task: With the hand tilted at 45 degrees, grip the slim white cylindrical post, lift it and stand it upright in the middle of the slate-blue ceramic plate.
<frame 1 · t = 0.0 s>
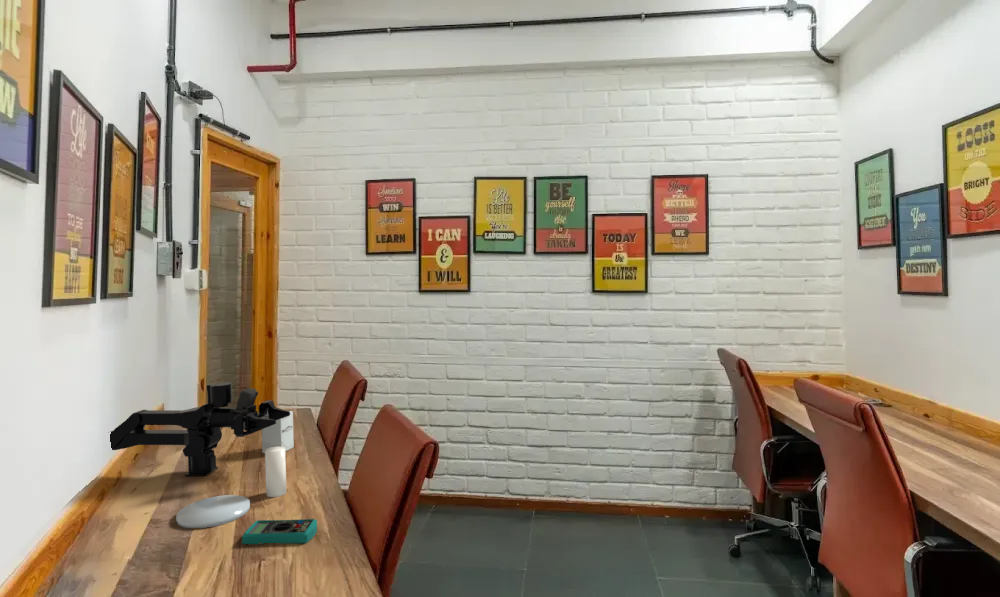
hand: (283, 417, 157), 17 cm above the table, tool horizontal, fingers open, 9 cm apart
digital multimeter: (281, 538, 119), on the table
plate: (214, 513, 131), on the table
supplement box: (278, 451, 178), on the table
white cylindrical post: (276, 493, 142), on the table
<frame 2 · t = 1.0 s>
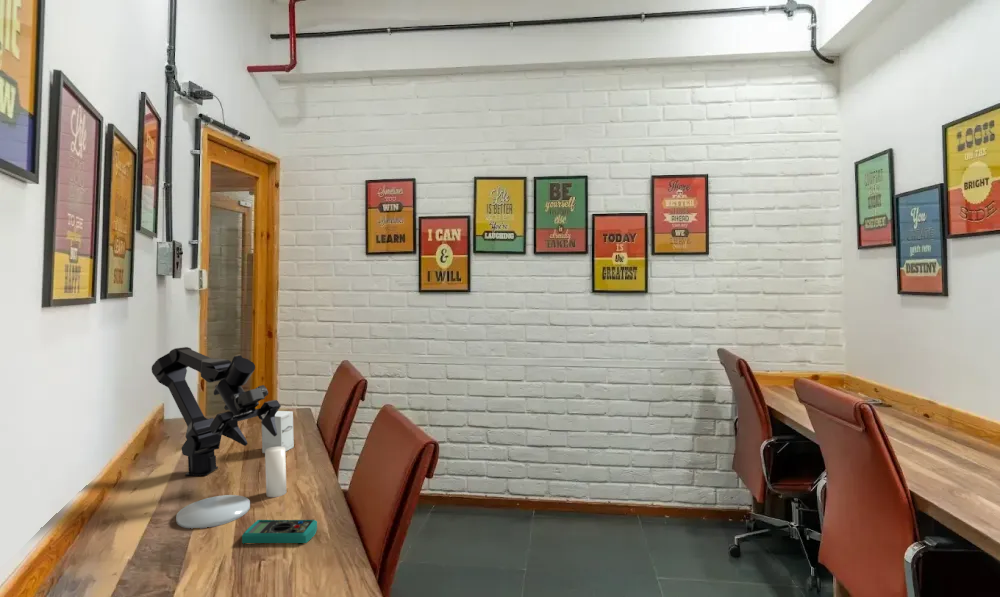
hand: (261, 440, 144), 14 cm above the table, tool tilted 45°, fingers open, 9 cm apart
nothing on the table moved.
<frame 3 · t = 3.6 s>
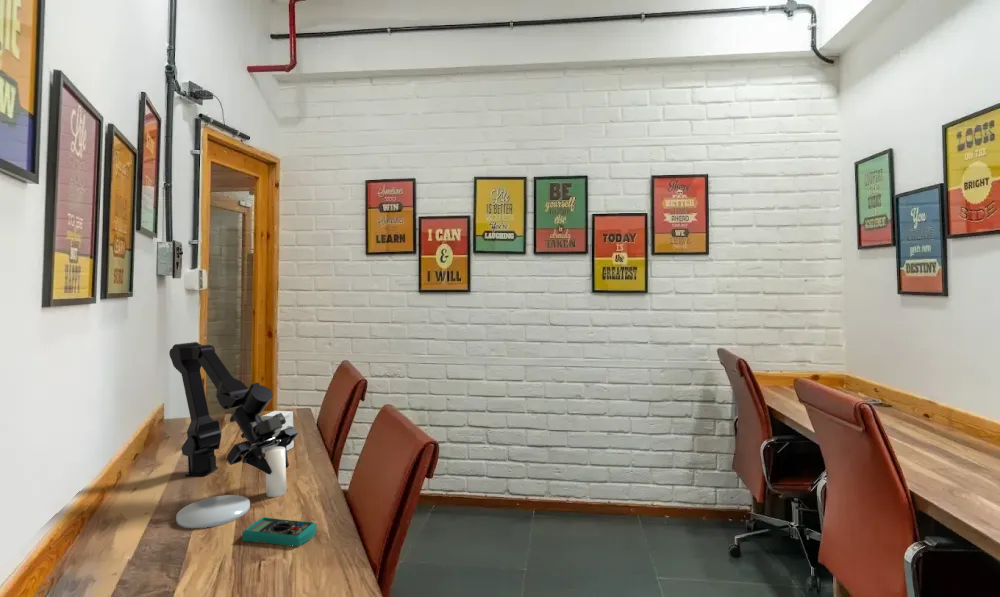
hand: (279, 470, 141), 7 cm above the table, tool tilted 45°, fingers closed on white cylindrical post, 5 cm apart
white cylindrical post: (276, 493, 142), on the table, touching gripper
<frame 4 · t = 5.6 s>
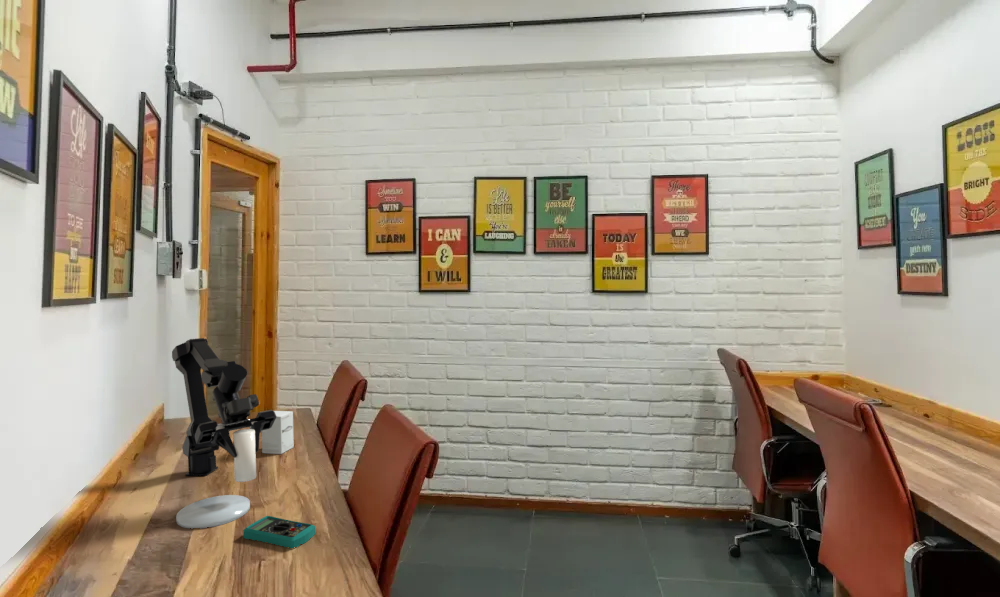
hand: (246, 453, 134), 13 cm above the table, tool tilted 45°, fingers closed on white cylindrical post, 5 cm apart
white cylindrical post: (245, 478, 135), point 7 cm above the table, touching gripper
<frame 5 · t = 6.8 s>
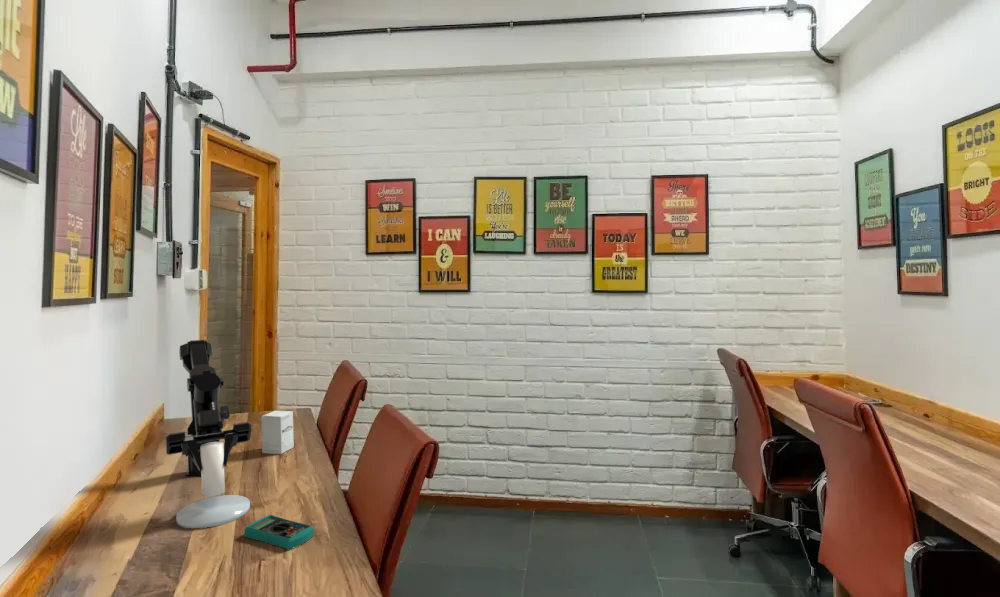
hand: (213, 468, 129), 12 cm above the table, tool tilted 45°, fingers closed on white cylindrical post, 5 cm apart
white cylindrical post: (213, 492, 130), point 5 cm above the table, touching gripper
when the fingers open (9 cm above the table, at t = 7.8 s): white cylindrical post stays where it is, resting on plate.
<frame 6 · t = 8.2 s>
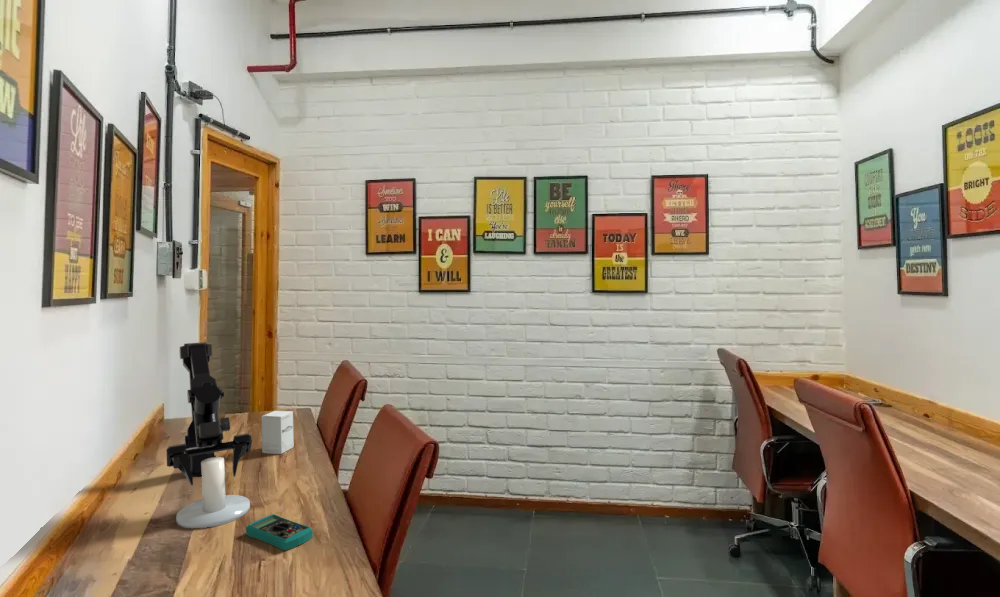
hand: (213, 480, 129), 9 cm above the table, tool tilted 45°, fingers open, 9 cm apart
white cylindrical post: (214, 508, 131), point 1 cm above the table, touching plate
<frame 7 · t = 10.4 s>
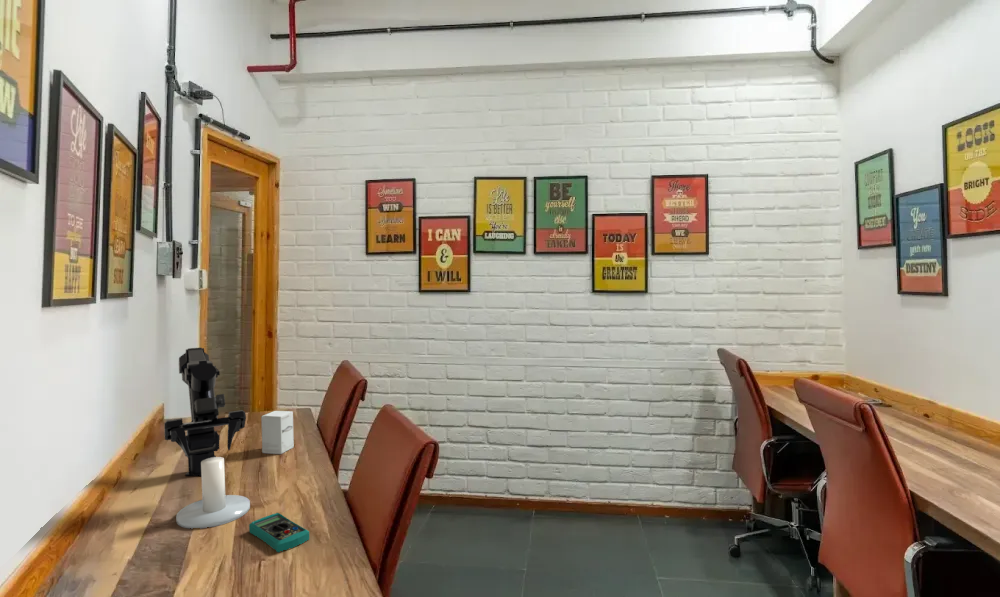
hand: (209, 453, 136), 13 cm above the table, tool tilted 45°, fingers open, 9 cm apart
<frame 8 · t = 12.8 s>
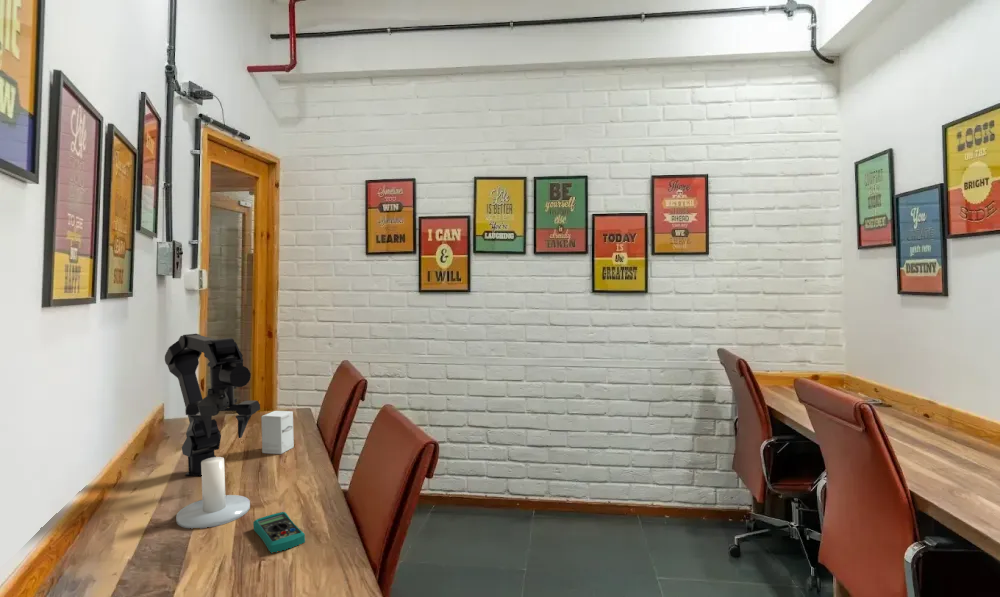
hand: (224, 437, 149), 13 cm above the table, tool pointing down, fingers open, 9 cm apart
at the end: white cylindrical post 0.1 cm off-centre on the plate, point 1.2 cm above the plate's base; white cylindrical post tilted 0°; the gripper is holding nothing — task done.
